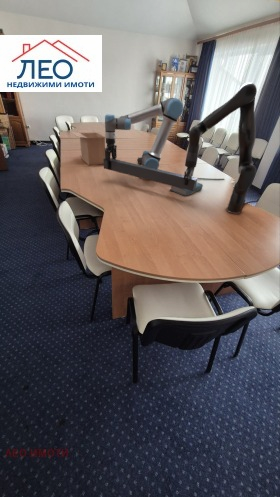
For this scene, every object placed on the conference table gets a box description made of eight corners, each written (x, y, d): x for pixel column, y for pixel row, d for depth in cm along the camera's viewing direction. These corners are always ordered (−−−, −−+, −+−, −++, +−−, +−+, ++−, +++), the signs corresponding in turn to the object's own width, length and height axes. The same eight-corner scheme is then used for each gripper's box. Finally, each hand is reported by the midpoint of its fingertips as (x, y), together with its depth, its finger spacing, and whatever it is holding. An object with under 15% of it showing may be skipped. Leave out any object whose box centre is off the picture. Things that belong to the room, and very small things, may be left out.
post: (103, 168, 186) (103, 158, 181) (107, 167, 189) (107, 157, 185) (192, 191, 156) (195, 180, 152) (195, 189, 160) (197, 178, 155)
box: (116, 165, 229) (116, 136, 213) (83, 168, 214) (80, 137, 198) (102, 154, 259) (101, 128, 243) (71, 156, 244) (68, 129, 228)
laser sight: (156, 166, 234) (157, 157, 228) (136, 164, 237) (136, 154, 231) (158, 164, 241) (159, 154, 236) (138, 162, 244) (138, 152, 238)
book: (186, 184, 196) (187, 178, 193) (201, 190, 188) (203, 184, 185) (170, 190, 183) (171, 184, 180) (185, 196, 174) (187, 190, 171)
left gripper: (107, 140, 163) (108, 171, 177) (120, 136, 176) (121, 166, 190) (99, 138, 166) (101, 170, 180) (113, 135, 179) (113, 165, 193)
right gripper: (193, 162, 142) (188, 188, 152) (200, 158, 152) (195, 182, 162) (182, 160, 145) (178, 185, 155) (189, 156, 155) (185, 180, 165)
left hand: (111, 168), depth 185 cm, fingers closed on post, 5 cm apart
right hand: (187, 183), depth 158 cm, fingers closed on post, 5 cm apart
